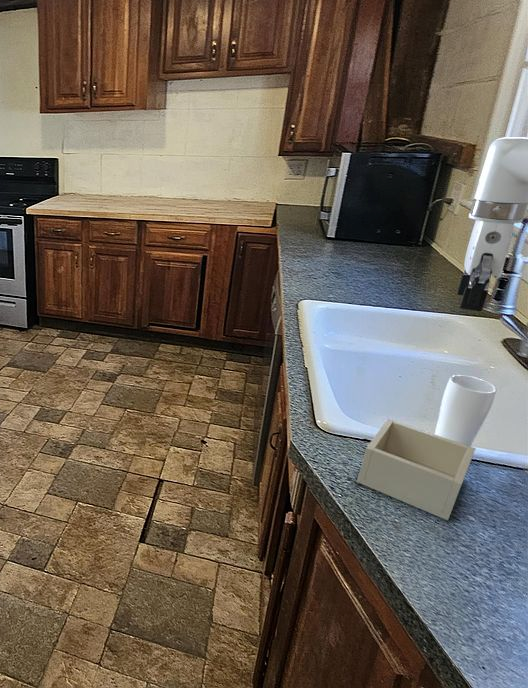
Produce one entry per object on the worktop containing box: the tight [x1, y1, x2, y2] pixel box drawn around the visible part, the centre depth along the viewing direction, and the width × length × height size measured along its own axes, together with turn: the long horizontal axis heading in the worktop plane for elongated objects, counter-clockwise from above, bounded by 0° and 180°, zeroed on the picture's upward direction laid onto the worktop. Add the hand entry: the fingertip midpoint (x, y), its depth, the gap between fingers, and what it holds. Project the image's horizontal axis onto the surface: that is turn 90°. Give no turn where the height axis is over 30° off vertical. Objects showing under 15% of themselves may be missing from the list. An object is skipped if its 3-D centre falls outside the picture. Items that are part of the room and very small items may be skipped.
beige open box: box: [356, 418, 476, 521], centre depth 89 cm, size 13×13×7 cm
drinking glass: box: [434, 374, 497, 447], centre depth 95 cm, size 7×7×15 cm
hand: (468, 302), depth 100 cm, fingers open, 9 cm apart
